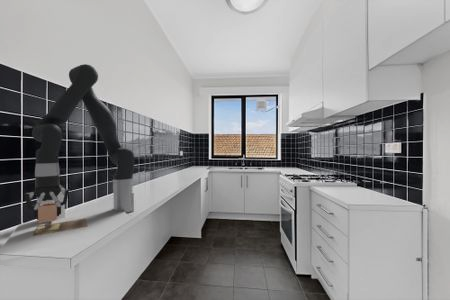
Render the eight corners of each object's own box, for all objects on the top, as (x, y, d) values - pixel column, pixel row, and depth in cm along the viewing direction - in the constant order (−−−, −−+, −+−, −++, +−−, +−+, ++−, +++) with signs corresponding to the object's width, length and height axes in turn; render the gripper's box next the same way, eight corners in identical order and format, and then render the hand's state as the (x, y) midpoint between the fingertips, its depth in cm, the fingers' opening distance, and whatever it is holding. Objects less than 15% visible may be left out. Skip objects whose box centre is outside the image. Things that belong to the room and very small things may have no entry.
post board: (86, 221, 100) (86, 201, 100) (87, 229, 90) (87, 207, 90) (37, 229, 91) (37, 207, 91) (32, 240, 80) (32, 214, 80)
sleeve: (57, 216, 91) (57, 202, 91) (56, 220, 87) (56, 204, 87) (40, 219, 88) (39, 204, 88) (38, 222, 84) (37, 207, 84)
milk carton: (50, 225, 96) (49, 181, 96) (36, 224, 97) (36, 181, 97) (65, 220, 103) (64, 179, 103) (52, 219, 104) (52, 179, 104)
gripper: (69, 172, 95) (70, 212, 95) (25, 175, 87) (25, 218, 87) (69, 174, 89) (70, 216, 89) (21, 176, 80) (21, 223, 80)
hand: (48, 217), depth 88 cm, fingers closed on sleeve, 5 cm apart
